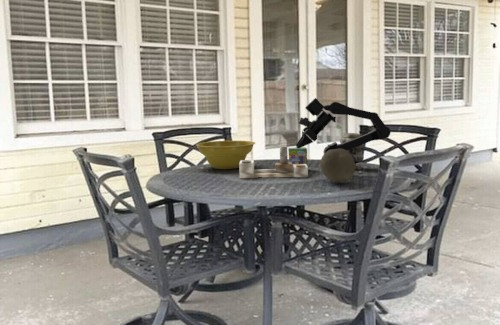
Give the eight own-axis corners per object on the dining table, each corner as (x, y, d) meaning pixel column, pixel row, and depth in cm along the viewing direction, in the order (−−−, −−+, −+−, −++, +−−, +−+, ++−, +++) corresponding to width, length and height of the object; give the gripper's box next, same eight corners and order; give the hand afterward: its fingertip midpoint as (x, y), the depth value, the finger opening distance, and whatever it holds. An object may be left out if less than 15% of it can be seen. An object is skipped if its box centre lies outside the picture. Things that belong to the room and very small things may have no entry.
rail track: (306, 173, 250) (306, 157, 249) (308, 176, 238) (307, 160, 237) (241, 174, 252) (240, 159, 251) (239, 178, 240) (239, 162, 239)
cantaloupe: (343, 179, 227) (343, 146, 225) (361, 184, 214) (361, 148, 212) (315, 182, 222) (314, 148, 220) (331, 187, 209) (331, 151, 207)
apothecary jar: (364, 170, 254) (364, 134, 252) (339, 170, 256) (339, 134, 254) (362, 166, 266) (362, 132, 264) (339, 167, 268) (339, 132, 266)
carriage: (292, 167, 248) (291, 145, 247) (292, 169, 240) (292, 147, 239) (275, 167, 249) (275, 146, 247) (275, 169, 241) (275, 147, 239)
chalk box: (307, 171, 256) (307, 142, 254) (289, 171, 256) (288, 142, 255) (306, 168, 265) (305, 140, 263) (288, 169, 266) (288, 140, 264)
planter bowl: (244, 172, 258) (243, 146, 257) (186, 171, 269) (185, 145, 267) (263, 164, 289) (262, 140, 287) (211, 163, 299) (210, 140, 297)
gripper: (306, 110, 250) (284, 133, 252) (309, 111, 231) (285, 136, 233) (323, 126, 250) (300, 149, 252) (327, 128, 232) (303, 153, 234)
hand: (297, 146), depth 243 cm, fingers open, 9 cm apart
